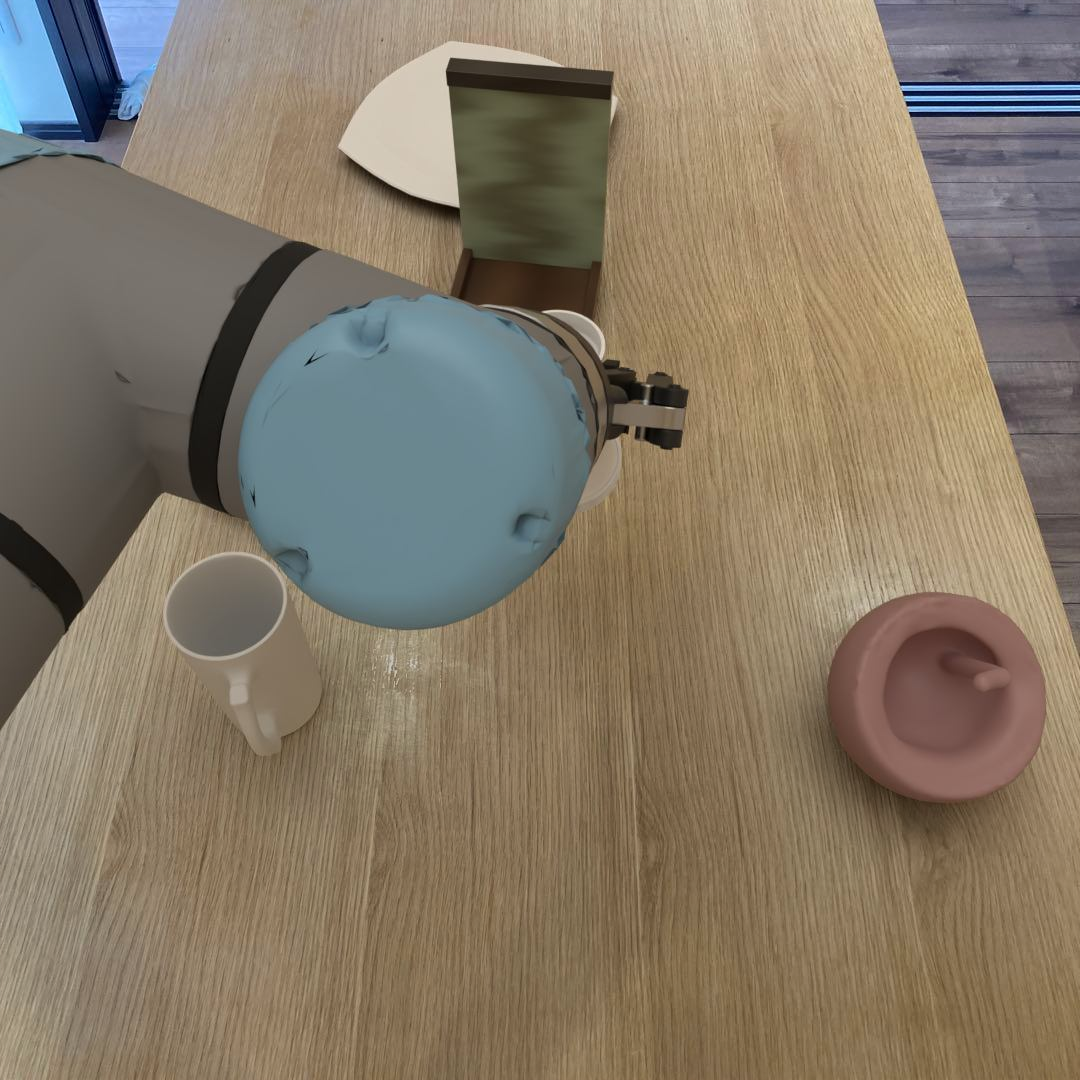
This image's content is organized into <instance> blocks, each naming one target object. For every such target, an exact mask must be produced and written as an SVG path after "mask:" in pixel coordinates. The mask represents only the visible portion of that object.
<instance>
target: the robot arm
mask: <svg viewBox="0 0 1080 1080" xmlns="http://www.w3.org/2000/svg"><path fill="white" fill-rule="evenodd" d="M620 365H621V360H618V359H609V358H607V359H605V360H604V361H602V362H601V360H600V358H599V356H598V355H597V353H596V352H595V350H594V349H593V347H592V346H591V345H590V343H589V342H588V341H587V340H586V339H585V338H584V337H583V336H582V335H581V334H580V333H579V332H578V331H576V330H575V329H574V328H573V327H571V326H570V325H568V324H567V323H565V322H564V321H562V320H560V319H558V318H556V317H554V316H551V315H549V314H546V313H543V312H539V311H535V310H530V309H522V308H519V307H512V306H501V305H490V304H485V305H478V306H477V305H474V304H471V303H469V302H466V301H463V300H460V299H458V298H455V297H452V296H450V294H447V293H445V292H442V291H439V290H437V289H434V288H431V287H430V286H426V285H423V284H421V283H418V282H415V281H414V280H411V279H407V278H406V277H403V276H400V275H398V274H395V273H392V272H390V271H387V270H384V269H382V268H379V267H378V266H377V267H376V266H374V265H372V264H369V263H366V262H364V261H361V260H358V259H357V258H354V257H350V256H348V255H345V254H342V253H340V252H336V251H333V250H330V249H327V248H325V249H322V248H320V247H319V246H318V247H317V246H315V245H313V244H311V243H308V242H306V241H299V240H294V239H293V238H289V237H288V236H284V235H282V234H280V233H277V232H274V231H272V230H270V229H267V228H265V227H263V226H259V225H257V224H255V223H252V222H250V221H247V220H245V219H242V218H240V217H237V216H235V215H233V214H231V213H230V214H229V213H228V212H225V211H223V210H220V209H218V208H216V207H213V206H211V205H209V204H206V203H204V202H201V201H198V200H197V199H194V198H192V197H190V196H187V195H184V194H183V193H180V192H177V191H176V190H172V189H170V188H168V187H166V186H164V185H161V184H158V183H157V182H154V181H153V180H152V181H151V180H149V179H147V178H145V177H142V176H139V175H138V174H135V173H133V172H130V171H129V170H126V169H125V168H122V167H121V166H119V165H118V164H116V163H115V162H114V161H112V160H111V159H110V158H106V157H103V156H102V155H98V154H96V153H92V152H90V151H87V150H85V149H82V148H78V147H66V146H63V145H59V144H57V143H53V142H50V141H47V140H44V139H41V138H38V137H35V136H32V135H29V134H26V133H24V132H21V133H17V132H13V131H10V130H6V129H3V128H0V732H1V731H2V729H3V728H4V727H5V725H6V723H7V721H8V720H9V718H10V717H11V716H12V713H13V712H14V711H15V709H16V708H17V706H18V704H19V703H20V702H21V700H22V699H23V697H24V696H25V694H26V692H27V691H28V690H29V688H30V687H31V685H32V684H33V682H34V681H35V679H36V677H37V676H38V674H39V673H40V671H42V668H43V667H44V665H45V664H46V662H47V661H48V660H49V658H50V656H51V654H53V652H54V650H55V649H56V647H57V646H58V645H59V642H61V640H62V638H63V637H64V636H65V635H67V633H68V631H69V628H70V627H71V625H72V624H73V622H74V621H75V619H76V618H77V616H78V615H80V613H81V612H82V611H83V610H84V608H85V607H86V606H87V605H88V602H90V600H91V599H92V597H93V596H94V594H95V592H96V591H97V589H99V586H100V585H101V583H102V582H103V580H104V579H105V577H106V576H107V574H108V573H109V572H110V570H111V569H112V567H113V565H114V564H115V563H116V561H117V559H118V558H119V556H120V555H121V554H122V552H123V550H124V549H125V547H126V546H127V544H128V543H129V541H130V540H131V539H132V537H133V536H134V534H135V532H136V531H137V530H138V528H139V527H140V525H141V523H142V522H143V521H144V519H145V518H146V516H147V514H148V513H149V511H150V510H151V508H152V507H153V505H154V504H155V503H156V501H157V500H158V498H159V497H161V496H162V495H163V494H168V495H172V496H175V497H177V498H181V499H183V500H187V501H190V502H194V503H196V504H199V505H202V506H205V507H208V508H210V509H212V510H214V511H218V512H221V513H222V514H225V515H227V516H230V517H233V518H234V517H235V518H239V519H241V520H244V521H245V522H249V523H250V526H251V528H252V530H253V533H254V535H255V537H256V539H257V541H258V543H259V544H260V546H261V548H262V550H263V551H264V552H265V553H266V554H267V555H268V556H269V557H270V558H271V559H272V560H273V561H274V562H275V564H276V565H277V566H278V567H279V569H281V571H282V572H283V573H284V575H285V576H286V577H287V578H288V579H289V580H290V581H291V582H292V583H293V584H294V585H295V586H296V587H297V588H298V590H300V591H301V592H302V593H303V594H305V595H306V596H307V597H308V598H309V599H310V600H311V601H312V602H314V603H316V604H317V605H319V606H320V607H322V608H323V609H325V610H327V611H329V612H331V613H333V614H335V615H337V616H339V617H342V618H344V619H347V620H349V621H352V622H356V623H359V624H363V625H367V626H371V627H375V628H380V629H386V630H396V631H420V630H423V631H424V630H431V629H437V628H441V627H446V626H449V625H452V624H456V623H460V622H462V621H465V620H467V619H470V618H472V617H474V616H477V615H479V614H481V613H483V612H485V611H486V610H488V609H490V608H492V607H494V606H495V605H497V604H498V603H500V602H501V601H503V600H504V599H505V598H507V597H508V596H510V595H511V594H512V593H513V592H515V591H516V590H517V589H518V588H520V586H521V585H522V584H524V583H525V582H526V581H528V580H529V579H530V578H531V577H532V576H533V575H534V574H535V573H536V571H537V570H539V569H540V568H541V567H542V566H544V564H545V563H547V561H548V560H549V559H550V558H551V556H552V555H554V554H555V553H556V551H557V550H558V549H559V547H560V546H561V545H562V543H563V542H564V540H565V538H566V534H567V529H568V527H569V525H570V523H571V521H572V520H573V518H574V516H575V515H576V514H575V511H576V509H577V506H578V504H579V501H580V499H581V496H582V494H583V491H584V488H585V486H586V483H587V480H588V477H589V475H590V473H591V471H592V469H593V467H594V465H595V464H596V462H597V460H598V458H599V456H600V453H601V451H602V449H603V447H604V445H605V443H606V440H613V439H616V438H617V437H618V438H619V437H621V435H622V434H625V435H629V432H630V426H631V427H635V429H634V435H633V439H634V440H635V441H636V442H647V443H648V444H651V445H653V446H655V447H656V446H657V447H659V449H660V450H665V451H672V450H673V449H681V448H682V442H683V434H684V428H685V420H686V414H687V406H688V399H689V394H690V393H689V392H690V389H687V388H684V387H682V386H681V384H678V383H674V377H673V376H672V375H669V374H668V373H666V372H662V371H655V372H654V373H648V374H647V378H646V381H645V382H644V381H638V377H637V371H636V370H635V369H631V368H630V367H627V366H626V367H625V366H620ZM574 514H575V515H574Z"/></svg>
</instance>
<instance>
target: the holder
mask: <svg viewBox="0 0 1080 1080" xmlns="http://www.w3.org/2000/svg"><path fill="white" fill-rule="evenodd" d="M614 79H615V71H613V70H602V69H592V68H591V69H590V68H580V67H579V68H578V67H566V66H564V67H556V66H544V65H532V64H521V63H509V62H497V61H485V60H474V59H462V58H450V60H449V62H448V65H447V68H446V80H447V86H449V97H450V108H451V119H452V130H453V141H454V152H455V163H456V174H457V185H458V196H459V207H460V209H459V215H460V216H459V218H460V229H461V238H462V239H461V241H462V250H461V253H460V258H459V261H458V264H457V268H456V272H455V276H454V279H453V282H452V286H451V289H450V293H449V295H450V296H452V297H455V298H458V299H460V300H463V301H466V302H469V303H471V304H474V305H477V306H478V305H485V304H490V305H501V306H512V307H519V308H522V309H530V310H535V311H539V312H543V311H548V310H566V311H571V312H575V313H578V314H581V315H583V316H585V317H587V318H588V319H590V320H591V321H593V322H594V323H595V319H596V313H597V312H596V311H597V307H598V301H599V295H600V288H601V283H602V278H603V264H604V250H605V249H604V248H605V247H604V246H605V231H606V230H605V228H606V214H607V213H606V211H607V196H608V195H607V194H608V192H607V191H608V177H609V176H608V175H609V159H610V141H611V126H612V123H611V109H612V94H613V89H614Z"/></svg>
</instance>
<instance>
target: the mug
mask: <svg viewBox="0 0 1080 1080" xmlns="http://www.w3.org/2000/svg"><path fill="white" fill-rule="evenodd" d="M162 621H163V627H164V630H165V633H166V634H167V637H168V638H169V639H170V641H171V643H172V644H173V645H174V646H175V648H176V649H177V650H178V652H179V654H180V655H181V657H182V659H184V661H185V662H186V663H187V665H188V666H189V668H190V669H191V670H192V671H193V673H194V674H195V675H196V677H197V678H198V680H199V681H200V682H201V683H202V685H203V686H204V687H205V689H206V690H207V691H208V693H209V694H210V695H211V697H212V698H213V700H214V701H215V702H216V704H217V705H218V707H219V708H220V710H221V711H222V712H223V713H224V714H225V715H226V717H227V718H228V719H229V720H230V722H231V723H232V725H234V726H235V728H237V730H239V731H240V732H242V733H243V735H244V737H245V739H246V741H247V744H248V745H249V747H250V748H251V750H252V751H253V752H254V753H255V754H256V756H259V757H266V756H271V755H276V754H279V753H280V752H281V750H282V739H281V738H282V737H285V736H288V735H290V734H293V733H294V732H296V731H298V730H300V729H301V728H302V727H304V725H305V724H307V723H308V722H309V720H310V719H312V717H313V716H314V714H315V713H316V711H317V709H318V708H319V705H320V702H321V699H322V695H323V694H322V693H323V681H322V677H321V673H320V670H319V667H318V664H317V662H316V658H315V656H314V653H313V651H312V649H311V645H310V643H309V641H308V638H307V635H306V633H305V630H304V627H303V625H302V622H301V619H300V616H299V614H298V611H297V609H296V607H295V604H294V601H293V598H292V596H291V594H290V591H289V589H288V586H287V585H286V582H285V580H284V577H283V576H282V574H281V573H280V571H279V570H278V569H277V568H276V566H274V565H273V564H272V563H271V562H270V561H269V560H267V559H265V558H263V557H262V556H259V555H256V554H254V553H250V552H244V551H223V552H219V553H218V552H217V553H215V554H212V555H209V556H206V557H204V558H202V559H199V560H198V561H196V562H194V563H193V564H191V565H190V566H188V568H187V569H185V570H184V571H183V572H182V573H181V574H180V575H179V576H178V577H177V578H176V580H175V581H174V582H173V584H172V585H171V586H170V588H169V590H168V592H167V594H166V597H165V600H164V603H163V609H162Z"/></svg>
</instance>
